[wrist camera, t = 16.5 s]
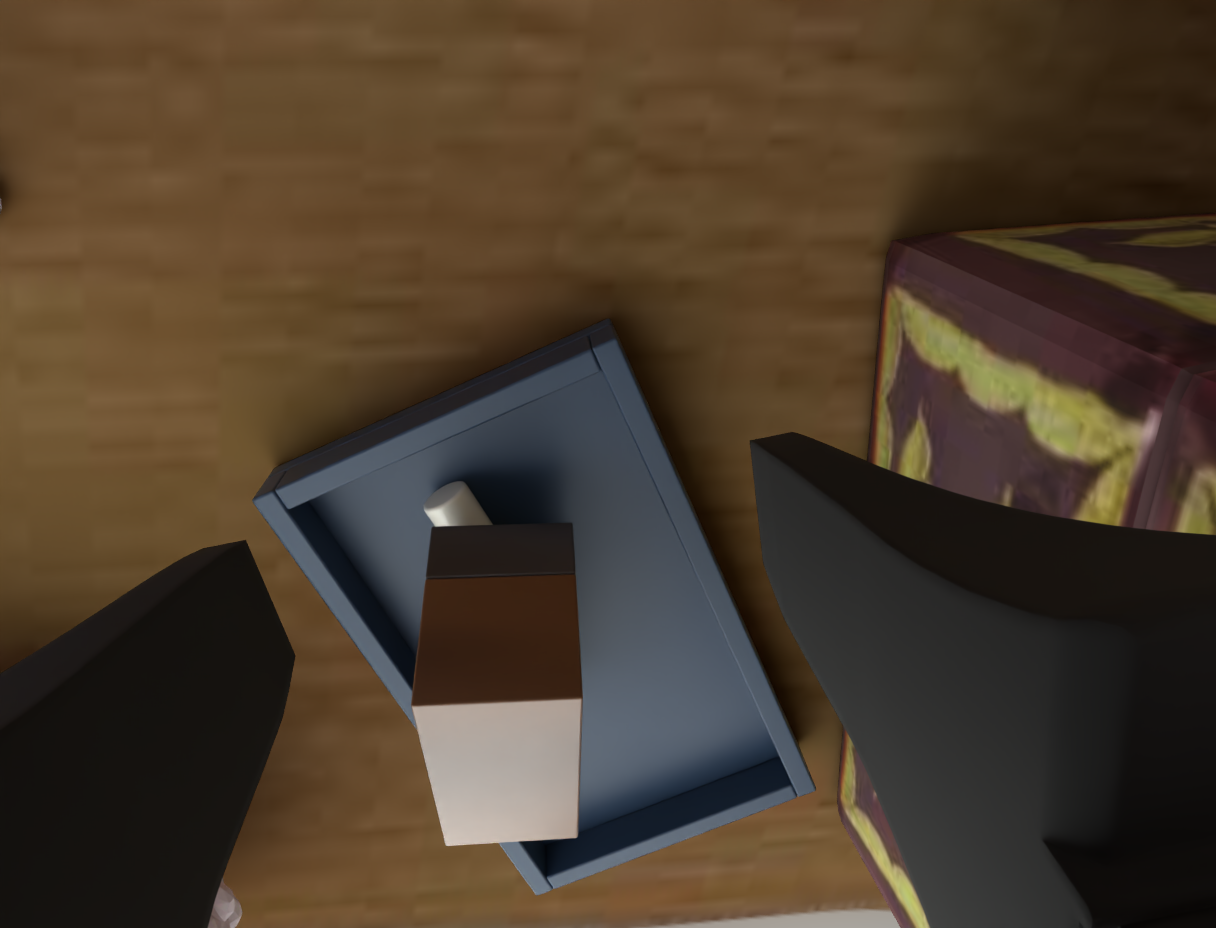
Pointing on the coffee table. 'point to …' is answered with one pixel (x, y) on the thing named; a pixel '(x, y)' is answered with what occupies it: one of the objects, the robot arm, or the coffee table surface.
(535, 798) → the eraser
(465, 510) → the chalk
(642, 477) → the tray
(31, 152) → the coffee table surface
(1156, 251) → the decorative box
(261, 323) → the coffee table surface
